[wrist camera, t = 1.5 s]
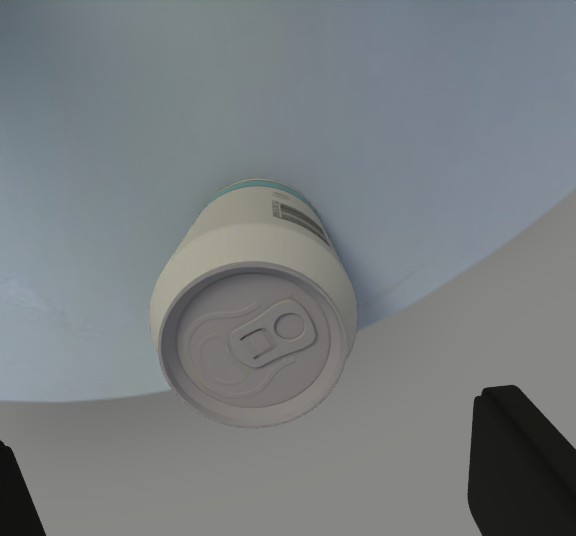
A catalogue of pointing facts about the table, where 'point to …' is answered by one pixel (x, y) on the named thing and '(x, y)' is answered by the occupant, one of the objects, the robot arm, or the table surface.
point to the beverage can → (254, 309)
